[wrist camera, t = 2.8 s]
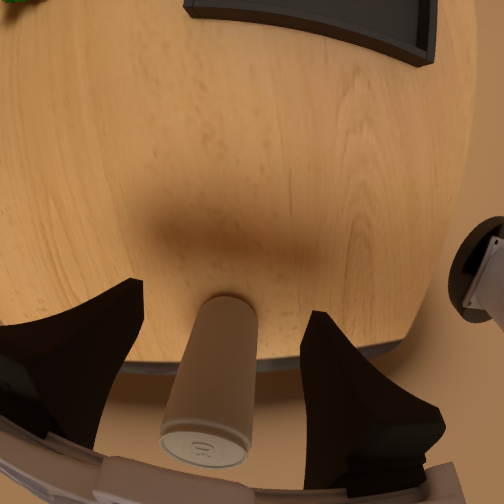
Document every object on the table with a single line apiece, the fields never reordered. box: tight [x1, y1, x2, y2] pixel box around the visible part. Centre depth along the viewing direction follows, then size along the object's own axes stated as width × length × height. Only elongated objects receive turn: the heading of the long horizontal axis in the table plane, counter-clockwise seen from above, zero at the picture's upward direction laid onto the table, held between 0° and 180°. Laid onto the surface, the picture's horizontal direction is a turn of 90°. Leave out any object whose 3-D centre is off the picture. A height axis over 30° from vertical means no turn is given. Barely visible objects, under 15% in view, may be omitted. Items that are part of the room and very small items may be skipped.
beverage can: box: [159, 296, 258, 470], centre depth 18 cm, size 5×5×12 cm
